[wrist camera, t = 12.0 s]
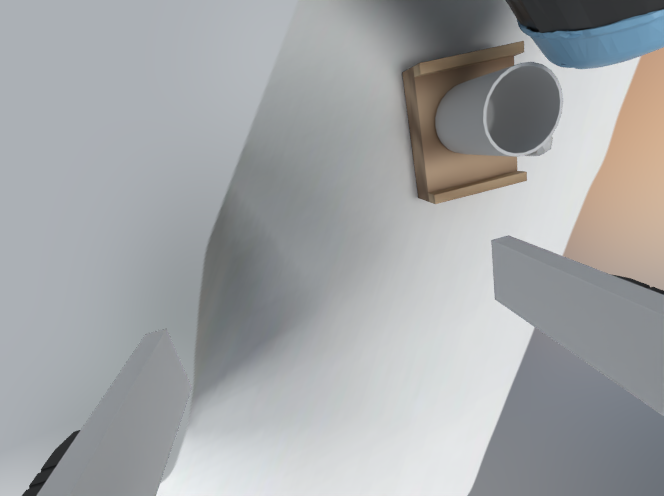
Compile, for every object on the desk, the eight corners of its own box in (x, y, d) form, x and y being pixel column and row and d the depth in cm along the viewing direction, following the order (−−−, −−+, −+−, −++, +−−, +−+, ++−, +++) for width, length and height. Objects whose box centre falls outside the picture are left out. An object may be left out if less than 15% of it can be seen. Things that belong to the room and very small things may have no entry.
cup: (459, 67, 34) (520, 41, 26) (525, 122, 37) (599, 115, 29) (420, 130, 35) (466, 125, 27) (486, 179, 38) (546, 188, 30)
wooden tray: (402, 72, 36) (419, 63, 32) (495, 52, 37) (523, 40, 33) (418, 197, 41) (435, 204, 36) (500, 176, 42) (526, 180, 37)
